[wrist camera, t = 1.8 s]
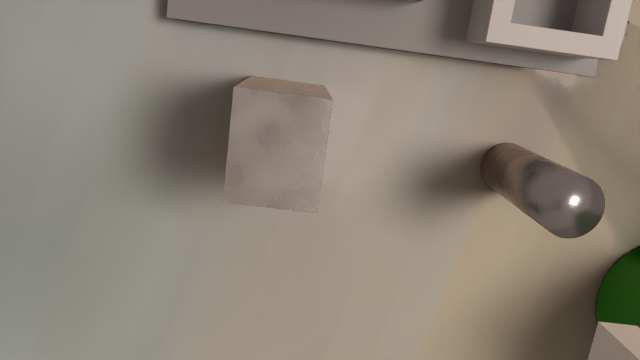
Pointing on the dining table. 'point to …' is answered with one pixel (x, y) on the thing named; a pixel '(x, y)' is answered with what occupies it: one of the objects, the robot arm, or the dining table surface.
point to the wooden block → (277, 144)
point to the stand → (440, 26)
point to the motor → (621, 292)
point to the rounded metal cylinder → (544, 190)
